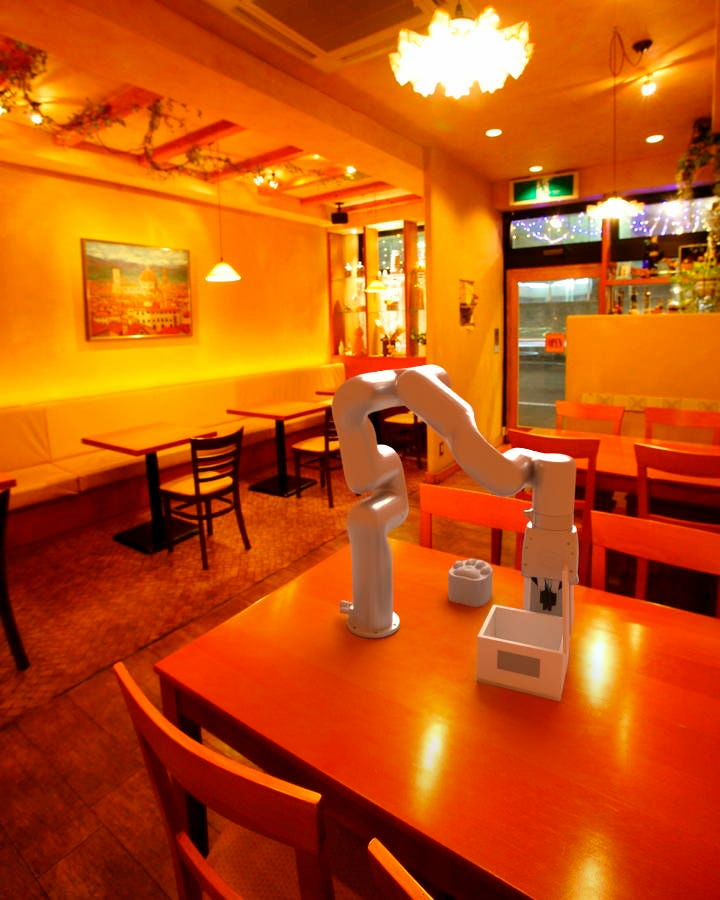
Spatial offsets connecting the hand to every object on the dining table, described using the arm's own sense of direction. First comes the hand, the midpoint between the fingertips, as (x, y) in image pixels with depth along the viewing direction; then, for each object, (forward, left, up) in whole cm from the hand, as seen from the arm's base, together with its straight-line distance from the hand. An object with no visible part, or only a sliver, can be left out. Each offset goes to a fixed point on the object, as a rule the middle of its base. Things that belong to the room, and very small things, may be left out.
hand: (547, 607), depth 112 cm
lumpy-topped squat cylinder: (-23, +30, -16) cm, 40 cm away
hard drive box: (-3, +18, -15) cm, 24 cm away
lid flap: (+3, 0, +3) cm, 5 cm away
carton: (-4, 0, -15) cm, 16 cm away
